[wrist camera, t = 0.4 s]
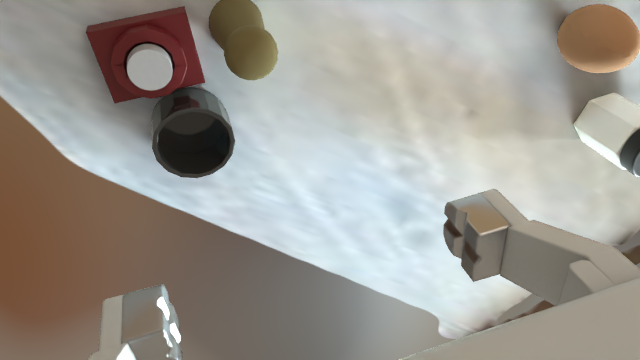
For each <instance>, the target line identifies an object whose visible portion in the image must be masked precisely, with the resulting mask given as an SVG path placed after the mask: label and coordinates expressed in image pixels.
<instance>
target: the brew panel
mask: <svg viewBox="0 0 640 360" xmlns="http://www.w3.org/2000/svg"><path fill="white" fill-rule="evenodd" d="M86 34H87V36H88V39H89V41H90V44H91V46H92V49H93V51H94V53H95V56H96V58H97V61H98V63H99V66H100V68H101V71H102V73H103V76H104V78H105V80H106V83H107V85H108V88H109V90H110V93H111V95H112V98H113V100H114V103H119V102H123V101H127V100H132V99H136V98H140V97H145V98H150V99H151V98H152V99H153V98H157V97H161V96H165V95H169V94H171V93H172V92H173V91H174V90H175V89H179V88H183V87H188V86H192V85H196V84H201V83H205V80H204V76H203V72H202V69H201V65H200V61H199V58H198V54H197V51H196V47H195V43H194V40H193V36H192V32H191V29H190V25H189V22H188V18H187V14H186V11H185V7H184V6H183V7H178V8H173V9H168V10H163V11H158V12H153V13H148V14H144V15H139V16H134V17H129V18H124V19H119V20H114V21H109V22H104V23H100V24H95V25H90V26H88V27H87V31H86ZM141 44H155V45H157V46H160V47H161V48H163V49H164V50H165V51H166V52H167V53H168V55H169V56H170V59H171V62H172V69H173V73H172V77H171V80H170V81H169V83H168V84H167V85H166V86H164V87H163V88H161V89H158V90H144V89H141V88H139V87H137V86H136V85H135V84H134V83H133V82H132V81H131V80H130V78H129V76H128V74H127V58H128V55H129V53H130V52H131V50H132V49H134V48H135V47H136V46H138V45H141Z"/></svg>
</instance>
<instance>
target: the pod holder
mask: <svg viewBox="0 0 640 360" xmlns="http://www.w3.org/2000/svg"><path fill="white" fill-rule="evenodd" d="M151 138H152V149H153V152H154V154H155V157H156V160H157V161H158V162H159V163H160V164H161V165H162V166H163V167H164V168H165V169H166V170H167V171H168V172H171V173H173V174H175V175H178V176H180V177H189V178H199V177H203V176H206V175H210V174H213V173H214V172H216V171H217V170H219V169H220V168H222V167H223V166H224V165H225V164H226V163H227V161H228V160H229V158H230V157H231V156H232V154H233V149H234V144H235V139H234V135H233V131H232V127H231V124H230V121H229V118H228V115H227V112H226V109H225V108H224V106H223V104H222V103H221V101H220V100H219V99H218V98H217V97H215V96H214V95H213V94H211V93H209V92H207V91H205V90H202V89H197V88H182V89H178V90H175V91H173V92H172V93H171V94H169V95H165V96H164V97H163V98H162V99H161V100H160V101H159V102H158V103H157V105H156V106H155V108H154V110H153V113H152V118H151Z"/></svg>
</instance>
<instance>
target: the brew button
mask: <svg viewBox="0 0 640 360" xmlns="http://www.w3.org/2000/svg"><path fill="white" fill-rule="evenodd" d="M172 73H173V69H172V62H171V59H170V56H169V55H168V53H167V52H166V51H165V50H164V49H163V48H161V47H160V46H157V45H155V44H141V45H138V46H136V47H135V48H134V49H132V50H131V52H130V53H129V55H128V58H127V74H128V76H129V78H130V80H131V81H132V82H133V83H134V84H135V85H136V86H137V87H139V88H141V89H144V90H158V89H161V88H163V87H164V86H166V85H167V84H168V83H169V81H170V80H171V77H172Z"/></svg>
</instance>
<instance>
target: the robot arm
mask: <svg viewBox="0 0 640 360" xmlns="http://www.w3.org/2000/svg"><path fill="white" fill-rule="evenodd" d="M444 214H445V215H446V216H447V217H448V220H447V221H446V223H445V224H444V238H445V242H446V244H447V246H448V248H449V250H450V251H451V253H452V254H453V255H454V256H456V257H459V258H461V259H462V263H461V266H462V267H463V269H464V270H465V271H466V273H467V274H468V275H469V277H470V278H471V279H472V281H473V282H474V281H478V280H481V279H485V278H488V277H491V276H495V275H498V274H500V276H502V277H504V278H506V279H508V280H509V281H511V282H513V283H515V284H517V285H519V286H520V287H522V288H524V289H526V290H528V291H529V292H531V293H533V294H535V295H537V296H539V297H540V298H542V299H544V300H546V301H548V302H549V303H551V304H553V305H555V306H554V307H551V308H549V309H546V310H543V311H540V312H537V313H534V314H531V315H528V316H525V317H522V318H519V319H516V320H513V321H510V322H507V323H504V324H501V325H498V326H496V327H493V328H490V329H487V330H484V331H481V332H478V333H475V334H472V335H469V336H466V337H463V338H460V339H457V340H454V341H452V342H449V343H446V344H443V345H440V346H437V347H434V348H431V349H428V350H425V351H422V352H419V353H416V354H413V355H411V356H407V357H405V358H402V359H399V360H640V269H639V268H638V267H636V266H635V265H634V264H633V263H632V262H631V261H630V260H628V259H627V258H626V257H625V256H624V255H623V254H622V253H620V252H619V251H618V250H617V249H616V248H614V247H611V246H608V245H605V244H602V243H599V242H596V241H594V240H591V239H588V238H585V237H582V236H579V235H576V234H573V233H570V232H567V231H565V230H562V229H559V228H556V227H553V226H550V225H547V224H544V223H541V222H538V221H535V220H531V221H529V220H527V219H526V218H525V217H524V216H523V215H522V214H521V213H520V212H519V211H518V210H517V209H516V208H515V207H514V206H513V205H512V204H511V203H510V202H509V201H508V200H507V199H506V198H505V197H504V196H503V195H502V194H501V193H500V192H499V191H498V190H496V189H491V190H488V191H485V192H481V193H478V194H475V195H471V196H468V197H465V198H461V199H458V200H455V201H451V202H448V203H447V204H446V206H445V213H444ZM180 339H181V335H180V327H179V322H178V318H177V315H176V311H175V309H174V307H173V305H172V304H170V303H169V299H168V292H167V290H166V288H165V286H164V285H163V284H162V285H158V286H153V287H150V288H146V289H142V290H138V291H134V292H130V293H127V294H124V295H121V296H117V297H114V298H109V299H105V300H104V302H103V304H102V310H101V323H100V337H99V351H98V352H95V353H93V354H92V355H91V356H90V357H89V359H88V360H183V356H182V351H181V349H180V346H179V344H178V343H179V341H180Z"/></svg>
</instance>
